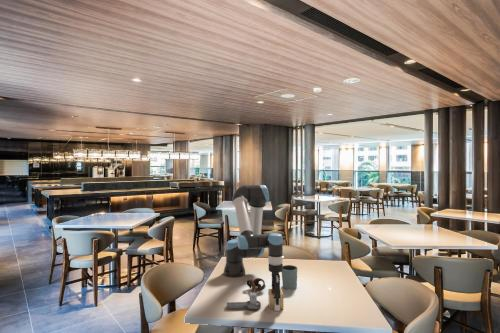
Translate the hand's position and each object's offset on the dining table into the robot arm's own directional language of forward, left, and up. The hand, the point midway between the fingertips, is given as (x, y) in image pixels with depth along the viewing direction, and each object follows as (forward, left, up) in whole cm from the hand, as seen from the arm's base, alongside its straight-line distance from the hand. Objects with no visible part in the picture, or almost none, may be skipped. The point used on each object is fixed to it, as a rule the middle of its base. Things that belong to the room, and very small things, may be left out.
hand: (275, 306), depth 158 cm
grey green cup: (-26, +12, 0) cm, 29 cm away
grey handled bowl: (0, -18, 0) cm, 18 cm away
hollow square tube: (0, 0, 0) cm, 0 cm away
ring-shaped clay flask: (-22, -9, -1) cm, 24 cm away
